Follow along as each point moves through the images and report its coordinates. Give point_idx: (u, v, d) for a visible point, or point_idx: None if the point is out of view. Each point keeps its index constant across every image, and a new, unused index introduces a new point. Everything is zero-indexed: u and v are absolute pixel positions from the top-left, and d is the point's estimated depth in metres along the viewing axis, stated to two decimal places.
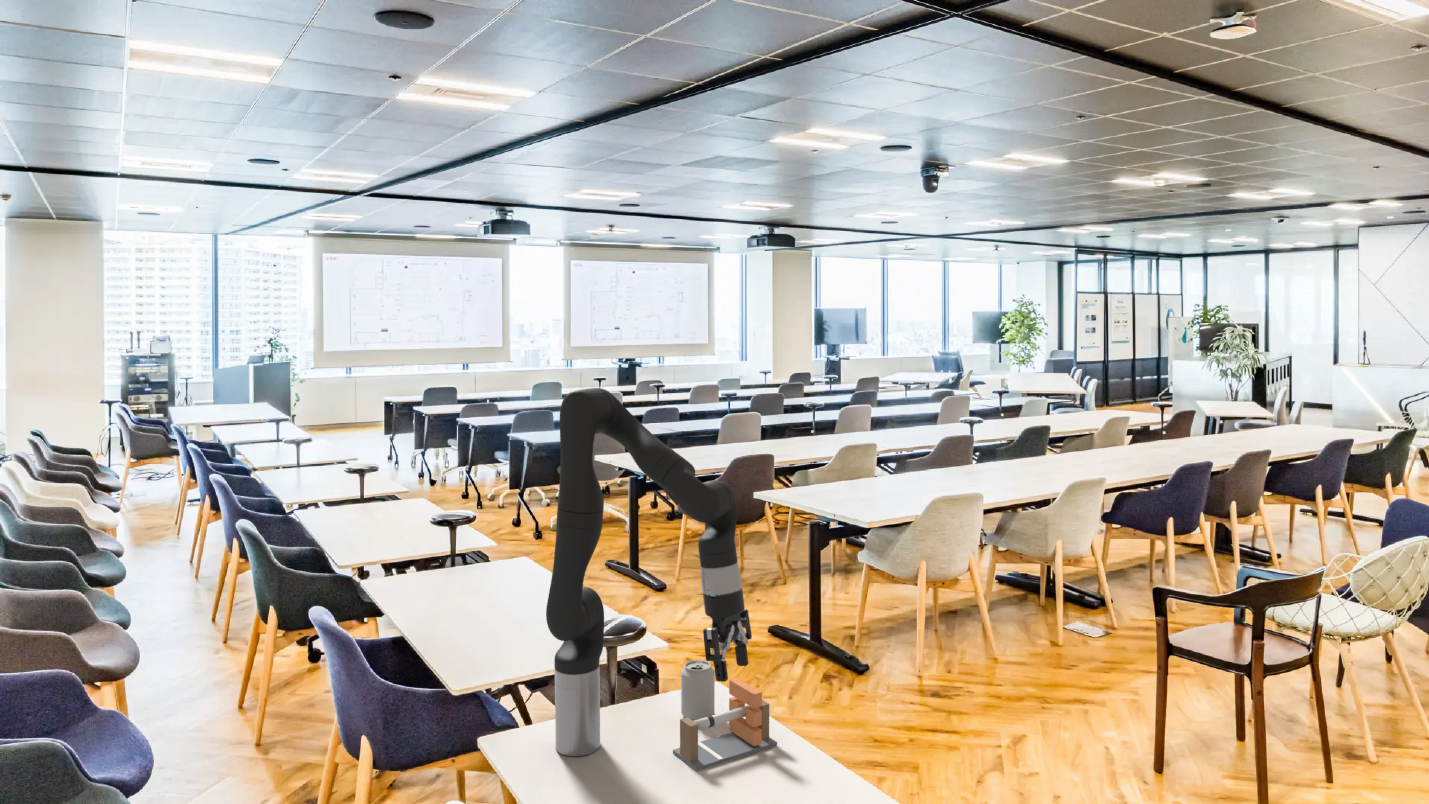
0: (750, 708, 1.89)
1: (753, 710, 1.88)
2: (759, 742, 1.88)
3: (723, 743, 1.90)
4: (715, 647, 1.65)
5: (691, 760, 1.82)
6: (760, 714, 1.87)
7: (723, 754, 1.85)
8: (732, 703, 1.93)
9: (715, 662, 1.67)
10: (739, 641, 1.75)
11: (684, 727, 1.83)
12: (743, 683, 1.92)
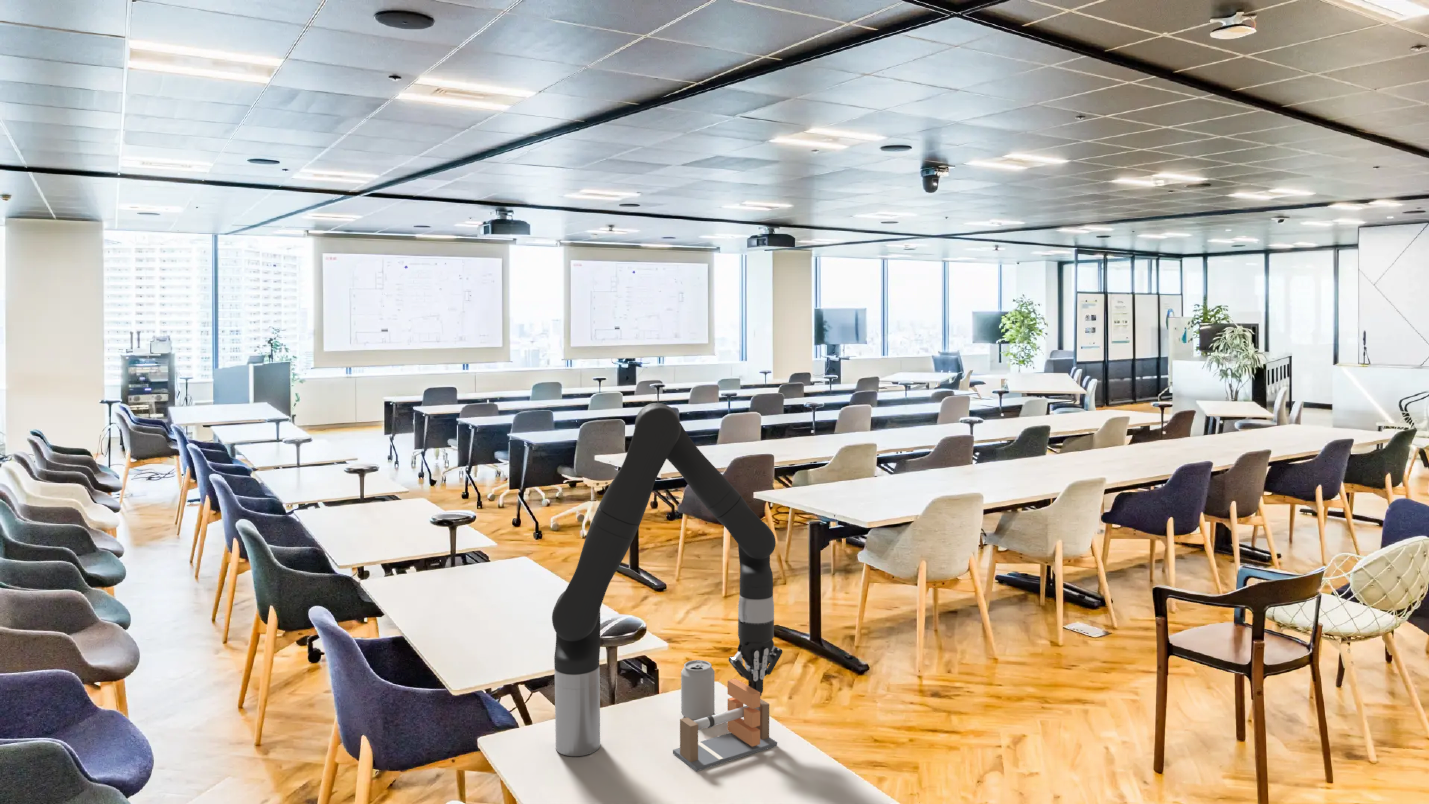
0: (748, 708, 1.88)
1: (751, 710, 1.88)
2: (757, 743, 1.88)
3: (723, 743, 1.90)
4: (742, 673, 1.88)
5: (691, 760, 1.82)
6: (758, 714, 1.87)
7: (723, 754, 1.85)
8: (730, 704, 1.93)
9: (749, 679, 1.91)
10: None
11: (684, 727, 1.83)
12: (741, 683, 1.91)
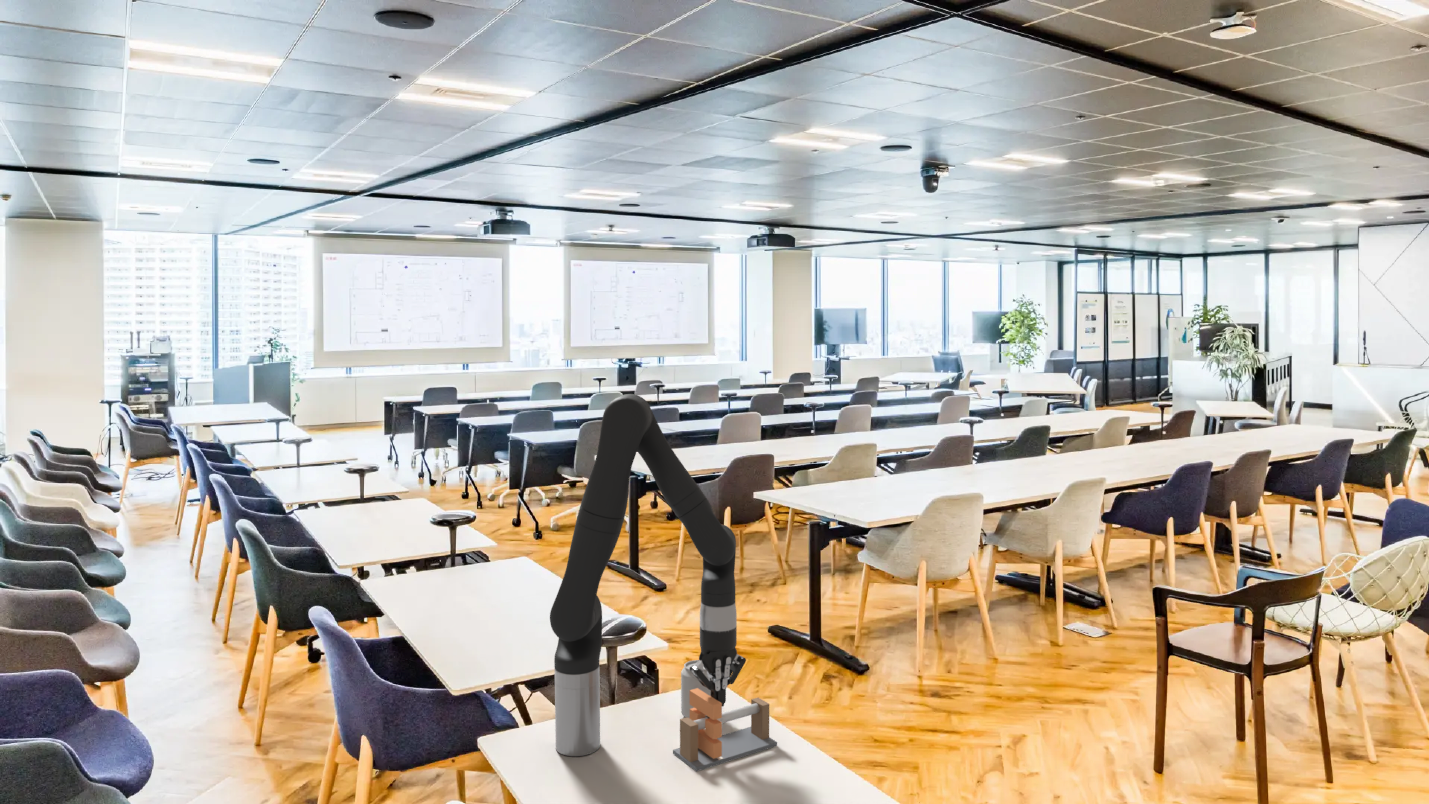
0: (710, 719, 1.83)
1: (712, 722, 1.82)
2: (719, 755, 1.82)
3: (723, 743, 1.90)
4: (703, 682, 1.83)
5: (691, 760, 1.82)
6: (720, 726, 1.82)
7: (723, 754, 1.85)
8: (692, 714, 1.88)
9: None
10: None
11: (684, 727, 1.83)
12: (703, 694, 1.86)
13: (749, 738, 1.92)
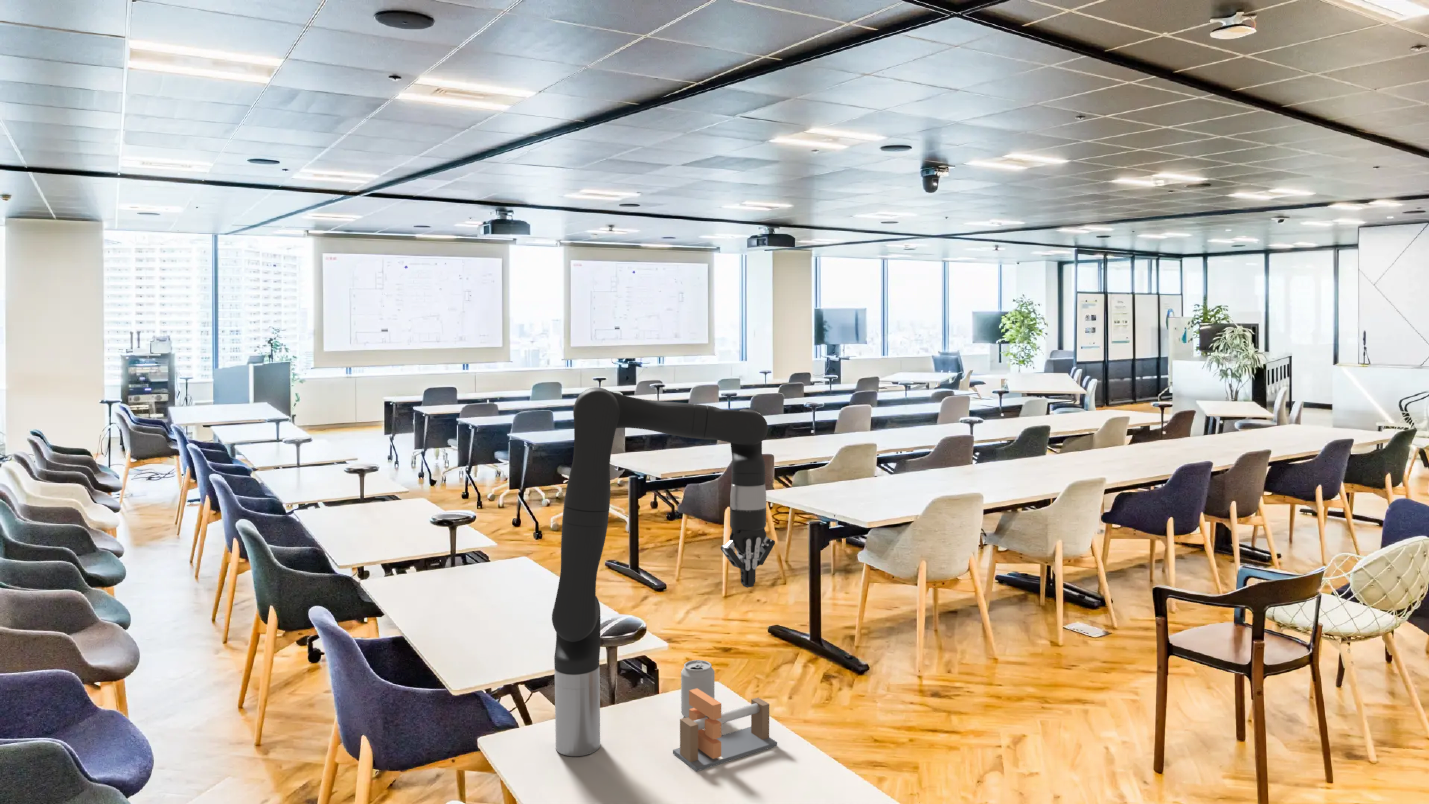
0: (709, 720, 1.83)
1: (712, 722, 1.82)
2: (718, 755, 1.82)
3: (723, 743, 1.90)
4: (734, 561, 1.88)
5: (691, 760, 1.82)
6: (719, 726, 1.82)
7: (723, 754, 1.85)
8: (691, 714, 1.88)
9: (741, 569, 1.90)
10: None
11: (684, 727, 1.83)
12: (703, 694, 1.86)
13: (749, 738, 1.92)
